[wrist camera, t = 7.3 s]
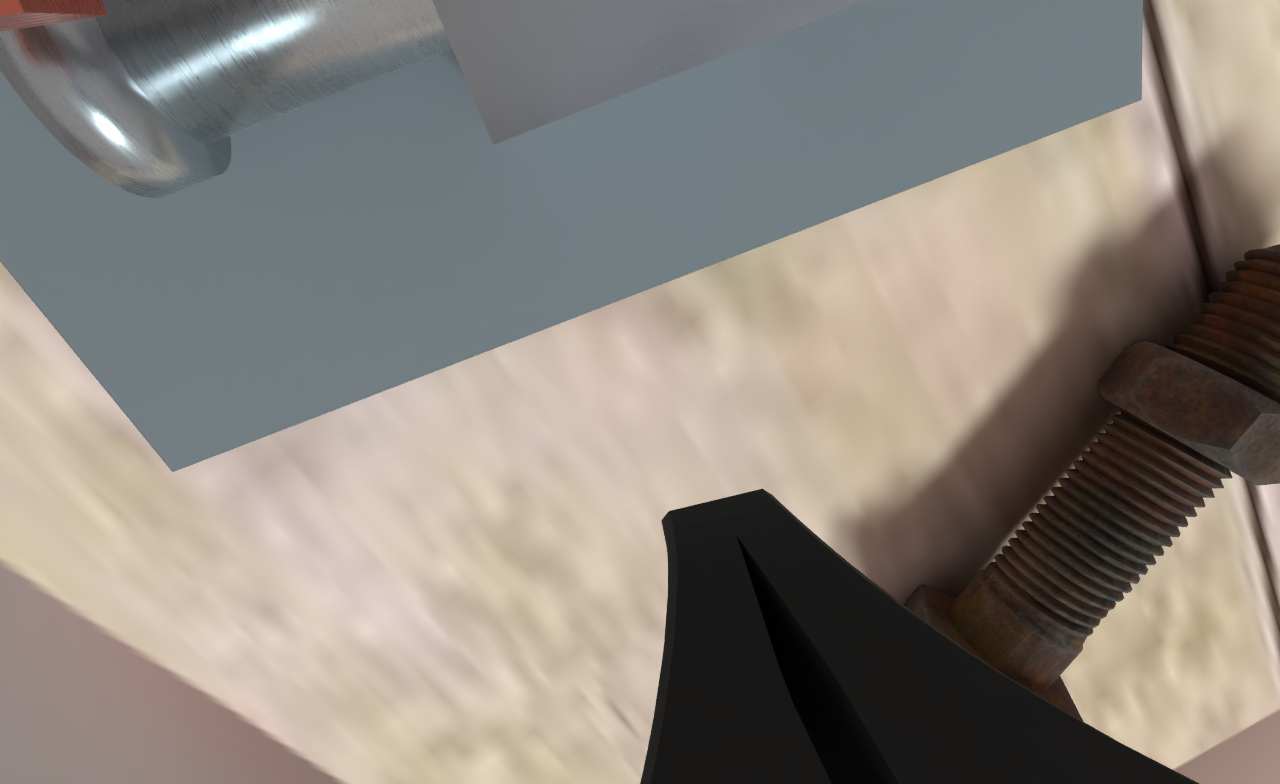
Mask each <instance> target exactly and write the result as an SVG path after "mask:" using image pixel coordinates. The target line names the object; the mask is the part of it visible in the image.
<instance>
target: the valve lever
mask: <svg viewBox="0 0 1280 784" xmlns="http://www.w3.org/2000/svg"><path fill="white" fill-rule="evenodd" d="M107 15H108V14H107V12H106V9H105V7H104V5H103V2H102V0H0V32H1V31H8V30H15V29H21V28H28V27H34V26H41V25H47V24H54V23H61V22H67V21H74V20H80V19H87V18H94V17H100V16H107Z"/></svg>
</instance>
